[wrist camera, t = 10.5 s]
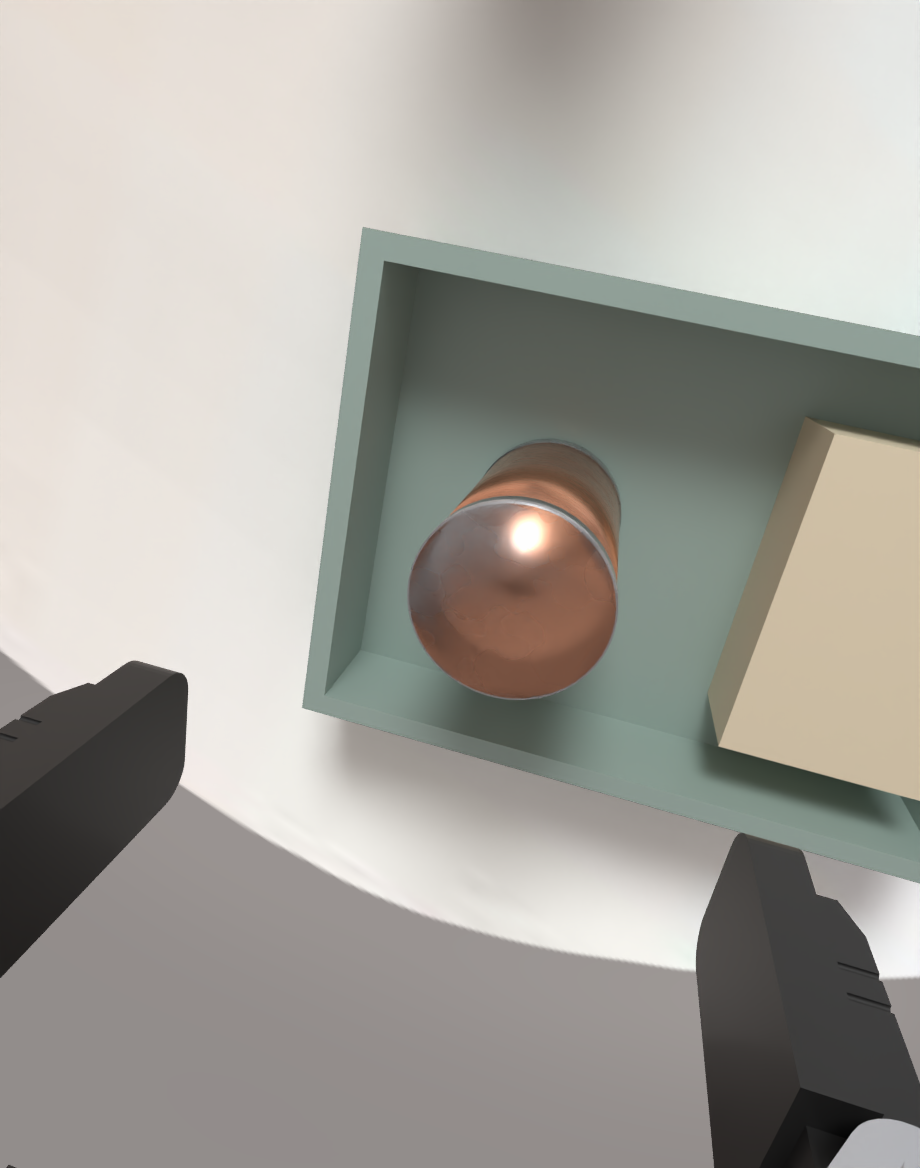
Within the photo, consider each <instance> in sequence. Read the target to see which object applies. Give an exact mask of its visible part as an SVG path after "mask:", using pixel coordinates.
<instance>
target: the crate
mask: <svg viewBox="0 0 920 1168" xmlns="http://www.w3.org/2000/svg"><path fill="white" fill-rule="evenodd" d="M805 417H810V418H815V419H819V420H824V421H829V422H834V423H838V424H843V425H848V426H852V427H857V428H862V429H866V430H871V431H876V432H880V433H885V434H890V435H895V436H899V437H904V438H909V439H913V440H918V441H920V336H916V335H911V334H906V333H901V332H896V331H890V330H885V329H880V328H875V327H870V326H865V325H860V324H855V323H850V322H845V321H839V320H834V319H829V318H824V317H819V316H814V315H809V314H804V313H799V312H793V311H788V310H783V309H778V308H773V307H768V306H763V305H758V304H753V303H748V302H742V301H737V300H732V299H727V298H722V297H717V296H712V295H707V294H702V293H697V292H691V291H686V290H681V289H676V288H671V287H666V286H661V285H656V284H651V283H645V282H640V281H635V280H630V279H625V278H620V277H615V276H610V275H605V274H600V273H594V272H589V271H584V270H579V269H574V268H569V267H564V266H559V265H554V264H548V263H543V262H538V261H533V260H528V259H523V258H518V257H513V256H508V255H503V254H497V253H492V252H487V251H482V250H477V249H472V248H467V247H462V246H457V245H451V244H446V243H441V242H436V241H431V240H426V239H421V238H416V237H411V236H406V235H400V234H395V233H390V232H385V231H380V230H375V229H370V228H365V227H363V229H362V236H361V244H360V252H359V260H358V268H357V276H356V284H355V292H354V300H353V308H352V316H351V324H350V332H349V340H348V348H347V356H346V364H345V372H344V380H343V388H342V396H341V404H340V412H339V420H338V428H337V436H336V443H335V451H334V459H333V467H332V475H331V483H330V491H329V499H328V507H327V515H326V523H325V531H324V539H323V547H322V555H321V563H320V571H319V579H318V587H317V595H316V603H315V611H314V619H313V627H312V635H311V643H310V650H309V658H308V666H307V674H306V682H305V690H304V698H303V706H302V708H305V709H308V710H312V711H315V712H319V713H322V714H326V715H329V716H333V717H336V718H340V719H343V720H347V721H350V722H354V723H357V724H361V725H364V726H368V727H371V728H375V729H378V730H382V731H385V732H389V733H393V734H396V735H400V736H403V737H407V738H410V739H414V740H417V741H421V742H424V743H428V744H431V745H435V746H438V747H442V748H445V749H449V750H452V751H456V752H459V753H463V754H466V755H470V756H473V757H477V758H480V759H484V760H488V761H491V762H495V763H498V764H502V765H505V766H509V767H512V768H516V769H519V770H523V771H526V772H530V773H533V774H537V775H540V776H544V777H547V778H551V779H554V780H558V781H561V782H565V783H568V784H572V785H576V786H579V787H583V788H586V789H590V790H593V791H597V792H600V793H604V794H607V795H611V796H614V797H618V798H621V799H625V800H628V801H632V802H635V803H639V804H642V805H646V806H649V807H653V808H656V809H660V810H664V811H667V812H671V813H674V814H678V815H681V816H685V817H688V818H692V819H695V820H699V821H702V822H706V823H709V824H713V825H716V826H720V827H723V828H727V829H730V830H734V831H737V832H741V833H745V834H749V835H753V836H756V837H760V838H763V839H767V840H770V841H774V842H777V843H781V844H785V845H788V846H792V847H795V848H799V849H801V850H804V851H808V852H811V853H815V854H818V855H822V856H825V857H829V858H832V859H836V860H839V861H843V862H847V863H850V864H854V865H857V866H861V867H864V868H868V869H871V870H875V871H878V872H882V873H885V874H889V875H892V876H896V877H899V878H903V879H906V880H910V881H913V882H917V883H920V801H918V800H915V799H911V798H907V797H904V796H900V795H896V794H892V793H889V792H885V791H881V790H878V789H874V788H870V787H867V786H863V785H859V784H856V783H852V782H848V781H844V780H841V779H837V778H833V777H830V776H826V775H822V774H819V773H815V772H811V771H808V770H804V769H800V768H797V767H793V766H789V765H785V764H782V763H778V762H774V761H771V760H767V759H763V758H760V757H756V756H752V755H749V754H745V753H741V752H737V751H734V750H730V749H726V748H723V747H719V746H718V741H717V736H716V732H715V727H714V722H713V717H712V712H711V708H710V703H709V698H708V690H709V687H710V684H711V681H712V679H713V676H714V673H715V670H716V667H717V665H718V662H719V659H720V656H721V653H722V650H723V648H724V645H725V642H726V639H727V636H728V634H729V631H730V628H731V625H732V622H733V619H734V617H735V614H736V611H737V608H738V605H739V603H740V600H741V597H742V594H743V591H744V588H745V586H746V583H747V580H748V577H749V574H750V571H751V569H752V566H753V563H754V560H755V557H756V555H757V552H758V549H759V546H760V543H761V540H762V538H763V535H764V532H765V529H766V526H767V524H768V521H769V518H770V515H771V512H772V509H773V507H774V504H775V501H776V498H777V495H778V492H779V490H780V487H781V484H782V481H783V478H784V476H785V473H786V470H787V467H788V464H789V461H790V459H791V456H792V453H793V450H794V447H795V445H796V442H797V439H798V436H799V433H800V430H801V428H802V425H803V422H804V419H805ZM536 439H559V440H565V441H568V442H571V443H575V444H577V445H579V446H581V447H583V448H585V449H587V450H588V451H590V452H591V453H593V454H594V455H595V456H596V457H597V458H599V459H600V460H601V461H602V462H603V464H604V465H605V466H606V467H607V468H608V470H609V471H610V473H611V474H612V476H613V478H614V480H615V482H616V485H617V488H618V491H619V495H620V500H621V524H620V529H619V549H618V575H617V584H618V598H619V600H618V617H617V623H616V628H615V632H614V635H613V638H612V640H611V643H610V645H609V647H608V649H607V651H606V653H605V654H604V656H603V658H602V659H601V660H600V661H599V663H598V664H597V665H596V667H595V668H594V669H593V670H592V671H591V672H590V673H589V674H588V675H587V676H585V677H584V678H583V679H581V680H580V681H579V682H577V683H576V684H574V685H573V686H571V687H569V688H567V689H565V690H563V691H561V692H558V693H556V694H553V695H550V696H546V697H542V698H537V699H530V700H508V699H499V698H495V697H491V696H487V695H484V694H481V693H478V692H475V691H473V690H471V689H469V688H467V687H465V686H463V685H461V684H460V683H458V682H456V681H455V680H453V679H452V678H450V677H449V676H448V675H447V674H445V673H444V672H443V671H442V670H441V669H440V668H439V667H438V666H437V665H436V664H435V663H434V662H433V661H432V660H431V658H430V657H429V656H428V655H427V653H426V652H425V651H424V649H423V647H422V646H421V644H420V642H419V640H418V638H417V636H416V634H415V632H414V629H413V626H412V623H411V620H410V616H409V610H408V604H407V588H408V579H409V575H410V571H411V567H412V564H413V562H414V559H415V557H416V555H417V553H418V551H419V549H420V548H421V546H422V544H423V543H424V541H425V540H426V539H427V538H428V537H429V535H430V534H431V533H432V532H433V531H434V529H435V528H436V527H437V526H438V525H439V524H440V523H441V522H442V521H444V520H445V519H446V518H447V517H448V516H449V515H450V514H451V513H452V512H453V511H454V510H455V508H456V507H457V506H458V505H459V504H460V503H461V502H462V500H463V499H464V498H465V497H466V496H467V495H468V494H469V492H470V491H471V490H472V489H473V488H474V487H475V486H476V484H477V483H478V482H479V481H480V480H481V479H482V478H483V476H484V475H485V473H486V472H487V470H488V469H489V468H490V467H491V465H492V464H493V463H494V462H495V461H496V460H497V459H498V458H499V457H500V456H501V455H502V454H504V453H505V452H507V451H508V450H509V449H511V448H513V447H515V446H517V445H519V444H522V443H525V442H528V441H532V440H536Z"/></svg>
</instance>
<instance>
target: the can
mask: <svg viewBox="0 0 920 1168" xmlns="http://www.w3.org/2000/svg"><path fill="white" fill-rule="evenodd" d="M620 524H621V500H620V495H619V491H618V488H617V485H616V482H615V480H614V478H613V476H612V474H611V473H610V471H609V470H608V468H607V467H606V466H605V465H604V464H603V462H602V461H601V460H600V459H599V458H597V457H596V456H595V455H594V454H593V453H591V452H590V451H588V450H587V449H585V448H583V447H581V446H579V445H577V444H575V443H571V442H568V441H565V440H559V439H536V440H532V441H528V442H525V443H522V444H519V445H517V446H515V447H513V448H511V449H509V450H508V451H507V452H505V453H504V454H502V455H501V456H500V457H499V458H498V459H497V460H496V461H495V462H494V463H493V464H492V465H491V467H490V468H489V469H488V470H487V472H486V473H485V475H484V476H483V478H482V479H481V480H480V481H479V482H478V483H477V484H476V486H475V487H474V488H473V489H472V490H471V491H470V492H469V494H468V495H467V496H466V497H465V498H464V499H463V500H462V502H461V503H460V504H459V505H458V506H457V507H456V508H455V510H454V511H453V512H452V513H451V514H450V515H449V516H448V517H447V518H446V519H445V520H444V521H442V522H441V523H440V524H439V525H438V526H437V527H436V528H435V529H434V531H433V532H432V533H431V534H430V535H429V537H428V538H427V539H426V540H425V541H424V543H423V544H422V546H421V548H420V549H419V551H418V553H417V555H416V557H415V559H414V562H413V564H412V567H411V571H410V575H409V579H408V588H407V604H408V610H409V616H410V620H411V623H412V626H413V629H414V632H415V634H416V636H417V638H418V640H419V642H420V644H421V646H422V647H423V649H424V651H425V652H426V653H427V655H428V656H429V657H430V658H431V660H432V661H433V662H434V663H435V664H436V665H437V666H438V667H439V668H440V669H441V670H442V671H443V672H444V673H445V674H447V675H448V676H449V677H450V678H452V679H453V680H455V681H456V682H458V683H460V684H461V685H463V686H465V687H467V688H469V689H471V690H473V691H475V692H478V693H481V694H484V695H487V696H491V697H495V698H499V699H508V700H530V699H537V698H542V697H546V696H550V695H553V694H556V693H558V692H561V691H563V690H565V689H567V688H569V687H571V686H573V685H574V684H576V683H577V682H579V681H580V680H581V679H583V678H584V677H585V676H587V675H588V674H589V673H590V672H591V671H592V670H593V669H594V668H595V667H596V665H597V664H598V663H599V661H600V660H601V659H602V658H603V656H604V654H605V653H606V651H607V649H608V647H609V645H610V643H611V640H612V638H613V635H614V632H615V628H616V623H617V617H618V600H619V598H618V584H617V575H618V549H619V529H620Z"/></svg>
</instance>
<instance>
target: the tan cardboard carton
mask: <svg viewBox="0 0 920 1168" xmlns="http://www.w3.org/2000/svg"><path fill="white" fill-rule="evenodd" d="M708 698H709V703H710V708H711V712H712V717H713V722H714V727H715V732H716V736H717V741H718V746H719V747H723V748H726V749H730V750H734V751H737V752H741V753H745V754H749V755H752V756H756V757H760V758H763V759H767V760H771V761H774V762H778V763H782V764H785V765H789V766H793V767H797V768H800V769H804V770H808V771H811V772H815V773H819V774H822V775H826V776H830V777H833V778H837V779H841V780H844V781H848V782H852V783H856V784H859V785H863V786H867V787H870V788H874V789H878V790H881V791H885V792H889V793H892V794H896V795H900V796H904V797H907V798H911V799H915V800H918V801H920V441H918V440H913V439H909V438H904V437H899V436H895V435H890V434H885V433H880V432H876V431H871V430H866V429H862V428H857V427H852V426H848V425H843V424H838V423H834V422H829V421H824V420H819V419H815V418H810V417H805V419H804V422H803V425H802V428H801V430H800V433H799V436H798V439H797V442H796V445H795V447H794V450H793V453H792V456H791V459H790V461H789V464H788V467H787V470H786V473H785V476H784V478H783V481H782V484H781V487H780V490H779V492H778V495H777V498H776V501H775V504H774V507H773V509H772V512H771V515H770V518H769V521H768V524H767V526H766V529H765V532H764V535H763V538H762V540H761V543H760V546H759V549H758V552H757V555H756V557H755V560H754V563H753V566H752V569H751V571H750V574H749V577H748V580H747V583H746V586H745V588H744V591H743V594H742V597H741V600H740V603H739V605H738V608H737V611H736V614H735V617H734V619H733V622H732V625H731V628H730V631H729V634H728V636H727V639H726V642H725V645H724V648H723V650H722V653H721V656H720V659H719V662H718V665H717V667H716V670H715V673H714V676H713V679H712V681H711V684H710V687H709V690H708Z"/></svg>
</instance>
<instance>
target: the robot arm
mask: <svg viewBox="0 0 920 1168" xmlns="http://www.w3.org/2000/svg"><path fill="white" fill-rule="evenodd" d="M187 703H188V682H187V679H186V677H185V675H183V674H182V673H178V672H175V671H171V670H168V669H164V668H161V667H157V666H154V665H150V664H146V663H143V662H139V661H130V662H128V663H126V664H125V665H123V666H122V667H120V668H119V669H117V670H116V671H115V672H113V673H112V674H110V675H109V676H107V677H106V678H104V679H103V680H102V681H100V682H99V683H97V684H96V685H94V684H90V683H87V684H84V685H81V686H78V687H75V688H72V689H69V690H66V691H63V692H60V693H58V694H55V695H52V696H50V697H48V698H47V699H45V700H44V701H42V702H41V703H39V704H37V705H36V706H34V707H33V708H31V709H30V710H28V711H27V712H25V713H24V714H22V715H21V718H20V719H19V720H16V719H15V720H13V721H12V722H10V723H9V724H7V725H6V726H4V727H3V728H1V729H0V978H1V977H2V976H3V975H4V974H5V973H6V972H7V970H8V969H9V968H10V967H11V966H12V965H13V964H14V963H15V962H16V961H17V960H18V959H19V958H20V957H21V956H22V955H23V954H24V953H25V952H26V951H27V950H28V948H29V947H30V946H31V945H32V944H33V943H34V942H35V941H36V940H37V939H38V938H39V937H40V936H41V935H42V934H43V933H44V932H45V931H46V930H47V928H48V927H49V926H50V925H51V924H52V923H53V922H54V921H55V920H56V919H57V918H58V917H59V916H60V915H61V914H62V913H63V912H64V911H65V910H66V908H68V906H69V905H70V904H71V903H72V902H73V901H74V900H75V899H76V898H77V897H78V896H79V895H80V894H81V893H82V891H84V890H85V889H86V887H88V885H89V884H90V883H91V882H92V881H93V880H94V879H95V878H96V877H97V876H98V875H99V874H100V873H101V872H102V871H103V870H104V869H105V868H106V867H107V865H108V864H109V863H110V862H111V861H112V860H113V859H114V858H115V857H116V856H117V855H118V854H119V853H120V852H121V851H122V850H123V848H125V847H126V846H127V845H128V843H129V842H130V841H131V840H132V839H133V838H134V837H135V836H136V835H137V834H138V833H139V832H140V831H141V830H142V829H143V828H144V827H145V826H146V824H147V823H148V822H149V821H150V820H151V819H152V818H153V817H154V816H155V815H156V814H157V813H158V812H159V811H160V810H161V809H162V808H163V807H164V805H166V803H167V802H168V801H169V800H170V798H171V797H172V795H173V793H174V792H175V790H176V787H177V786H178V783H179V781H180V778H181V775H182V772H183V768H184V762H185V744H186V723H187ZM696 974H697V985H698V996H699V1007H700V1018H701V1029H702V1039H703V1049H704V1061H705V1072H706V1083H707V1092H708V1093H707V1094H708V1104H709V1115H710V1126H711V1137H712V1148H713V1159H714V1168H920V1083H919V1080H918V1077H917V1075H916V1072H915V1069H914V1067H913V1064H912V1061H911V1058H910V1056H909V1053H908V1050H907V1047H906V1045H905V1042H904V1039H903V1037H902V1034H901V1031H900V1028H899V1026H898V1023H897V1020H896V1018H895V1015H894V1014H892V1013H891V1012H890V1008H891V1004H890V1001H889V998H888V996H887V993H886V991H885V988H884V985H883V982H882V981H879V971H878V969H877V966H876V963H875V960H874V958H873V955H872V952H871V950H870V947H869V944H868V941H867V939H866V937H865V935H864V934H863V933H862V931H861V930H860V929H859V928H858V926H857V925H856V924H855V923H854V921H853V920H852V919H851V917H850V916H849V915H848V914H847V912H846V911H845V910H844V909H843V907H842V906H841V905H840V903H839V902H838V901H837V900H833V899H830V898H826V897H823V896H820V895H816V892H815V889H814V886H813V882H812V879H811V876H810V873H809V870H808V866H807V863H806V860H805V857H804V854H803V852H802V851H801V850H800V849H799V848H795V847H792V846H788V845H785V844H781V843H777V842H774V841H770V840H767V839H763V838H760V837H756V836H753V835H749V834H745V833H740V834H738V835H737V837H736V838H735V840H734V841H733V844H732V846H731V848H730V851H729V853H728V856H727V858H726V861H725V863H724V866H723V869H722V871H721V874H720V876H719V879H718V881H717V884H716V886H715V889H714V891H713V894H712V897H711V899H710V902H709V904H708V907H707V909H706V912H705V914H704V917H703V920H702V923H701V927H700V931H699V936H698V942H697V950H696ZM7 1168H15V1167H13V1166H10V1165H8V1166H7Z"/></svg>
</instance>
